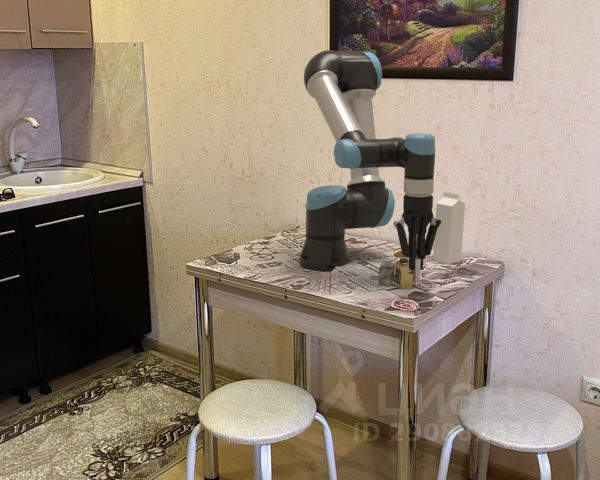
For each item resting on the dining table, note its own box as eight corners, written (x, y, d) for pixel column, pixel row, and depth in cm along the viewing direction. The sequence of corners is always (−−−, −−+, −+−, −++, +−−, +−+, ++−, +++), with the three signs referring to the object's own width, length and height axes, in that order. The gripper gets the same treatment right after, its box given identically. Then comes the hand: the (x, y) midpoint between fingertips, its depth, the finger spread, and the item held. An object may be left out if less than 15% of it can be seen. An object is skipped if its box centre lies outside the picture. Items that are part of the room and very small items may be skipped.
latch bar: (394, 273, 187) (395, 259, 186) (410, 274, 187) (411, 260, 186) (397, 287, 174) (398, 273, 174) (414, 288, 174) (415, 274, 173)
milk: (447, 268, 198) (452, 195, 192) (432, 263, 202) (436, 192, 197) (460, 265, 201) (466, 193, 196) (445, 260, 206) (450, 190, 201)
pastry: (399, 264, 202) (400, 252, 201) (388, 258, 208) (389, 246, 207) (425, 261, 206) (426, 249, 205) (413, 255, 212) (414, 244, 211)
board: (365, 289, 177) (366, 267, 175) (382, 266, 199) (383, 246, 197) (430, 297, 172) (431, 274, 170) (439, 272, 194) (441, 251, 192)
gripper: (433, 190, 176) (430, 275, 182) (389, 193, 173) (387, 279, 179) (447, 195, 169) (443, 283, 175) (401, 198, 166) (399, 287, 172)
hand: (415, 281), depth 177 cm, fingers closed
